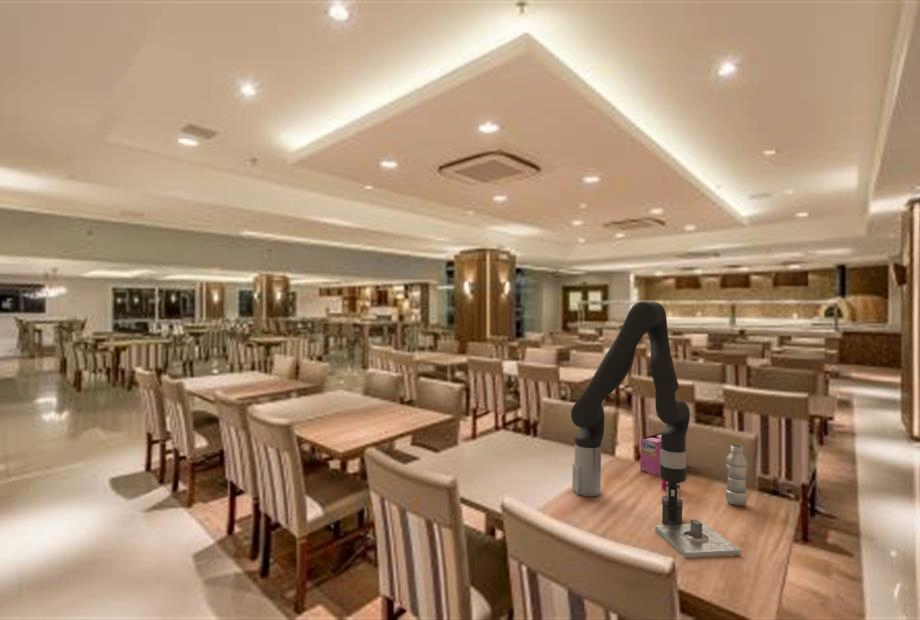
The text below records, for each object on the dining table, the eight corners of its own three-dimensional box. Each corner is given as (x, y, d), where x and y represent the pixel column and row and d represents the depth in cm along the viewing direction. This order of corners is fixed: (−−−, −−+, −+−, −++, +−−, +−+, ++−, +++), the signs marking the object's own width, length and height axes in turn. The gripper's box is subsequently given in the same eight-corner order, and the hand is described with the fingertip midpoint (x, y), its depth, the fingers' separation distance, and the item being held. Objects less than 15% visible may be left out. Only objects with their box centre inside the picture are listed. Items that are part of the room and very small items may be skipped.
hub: (685, 558, 129) (686, 536, 129) (655, 530, 145) (655, 510, 145) (741, 555, 130) (741, 533, 130) (705, 528, 146) (705, 508, 146)
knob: (682, 526, 147) (683, 502, 147) (661, 523, 149) (661, 499, 149) (682, 518, 153) (682, 495, 152) (661, 515, 155) (662, 492, 155)
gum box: (671, 459, 211) (671, 429, 211) (689, 464, 205) (689, 433, 205) (639, 470, 197) (640, 437, 197) (657, 476, 191) (657, 442, 190)
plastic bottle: (739, 510, 160) (740, 450, 159) (720, 502, 166) (721, 444, 165) (751, 506, 163) (752, 447, 162) (732, 499, 169) (733, 442, 168)
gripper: (686, 472, 143) (686, 527, 143) (685, 458, 156) (685, 508, 156) (659, 469, 146) (659, 522, 146) (660, 455, 159) (660, 504, 159)
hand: (672, 515), depth 151 cm, fingers open, 8 cm apart
